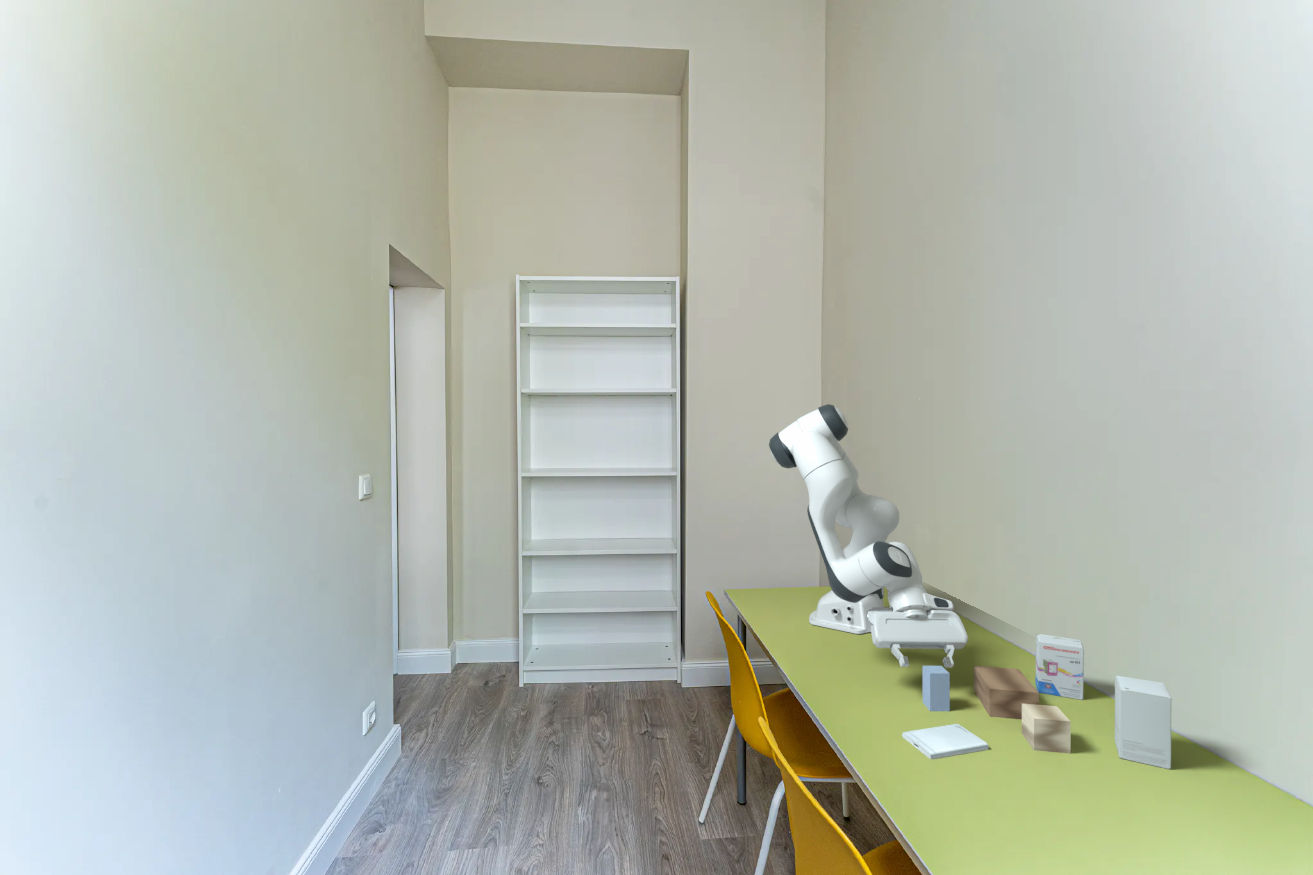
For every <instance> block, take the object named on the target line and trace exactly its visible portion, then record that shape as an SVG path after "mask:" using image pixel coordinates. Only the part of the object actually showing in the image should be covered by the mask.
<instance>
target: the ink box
mask: <svg viewBox="0 0 1313 875" xmlns="http://www.w3.org/2000/svg"><path fill="white" fill-rule="evenodd" d="M1084 663H1085V647H1084V646H1083V643H1082V641H1081V640H1080V639H1075V638H1068V637H1063V636H1056V635H1050V634H1049V635H1048V634H1043V633H1042V634H1041V633H1039V634H1036V635H1035V688H1036V690H1037V691H1038V692H1039V694H1046V695H1051V696H1058V697H1063V698H1069V699H1075V700H1080V701H1083V700H1084V680H1085V679H1084V678H1085V677H1084V675H1085V674H1084V672H1085V671H1084V670H1085V669H1084V667H1085V664H1084Z"/></svg>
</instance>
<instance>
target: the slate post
mask: <svg viewBox="0 0 1313 875" xmlns="http://www.w3.org/2000/svg"><path fill="white" fill-rule="evenodd" d="M950 674H951V673H950V672H949V671H948V670H947V669H946V668H945V667H944V666H942V665H922V703H923V704H924V706H925V707H926V708H927V710H928V711H930V712H950V710H951V706H950V705H951V704H950V702H951V701H950V700H951V699H950V698H951V696H950V691H951V690H950V686H951V684H950V683H951V681H950V679H951V678H950Z"/></svg>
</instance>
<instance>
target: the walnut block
mask: <svg viewBox="0 0 1313 875" xmlns="http://www.w3.org/2000/svg"><path fill="white" fill-rule="evenodd" d="M973 691H974V693H975V695H976V696H977V697H976V698H978V700H979V701H980V703H981V705H982V706H983V708H984V710H985V711H986V714H987V715H988V717H992V718H1003V719H1012V720H1013V719H1014V720H1021V721H1022V704H1035V705H1040V693H1039V692H1038V691H1037V688H1036V686H1035V687H1034V685H1033V684H1032V682H1031V681H1030V680H1029V679H1028V678H1027V677H1026V676H1025V674H1024V673H1023V672H1022V671H1021V669H1019V668H1011V667H996V666H987V665H986V666H984V665H973Z"/></svg>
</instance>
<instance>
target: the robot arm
mask: <svg viewBox="0 0 1313 875" xmlns="http://www.w3.org/2000/svg"><path fill="white" fill-rule="evenodd" d="M848 431H849V427H848V421H847V418H846V416H845V415H844V413H843V412H842V411H841V410H840V409H839V408H838V407H836V406H835V405H834V404H829V403H827V404H825V405H821V406H819V407H818V408H817V409H815V410H812V411H810V412H808V413H806V414H804V415H803V416H801V417H799V418H797V419H796V420H794V421H793V422H792V423H791V424H789V425H788V426H786V427H785V428H783V429H782V430H781V431H779V432H775V434H774V435H773V436H771V438H770V439H769V443H768V447H769V450H770V451H769V452H770V454H771V456H772V458H773V460H774V461H775V462H776V463H777V464H778V465H780V466H781V467H782V468H785V469H794V468H797V470H798V472H799V474H800V476H801V478H802V480H803V482H804V484H805V486H806V488H807V492H808V506H807V517H808V520H809V523H810V526H811V528H812V531H813V535H814V538H815V540H816V543H817V545H818V549H819V552H820V555H821V557H822V559H823V563H824V565H825V569H826V574H827V579H828V584H829V587H830V589H831V590H830V591H828V592H827V593H825V594H824V595H822V596H820V599H819V600H818V603H817V606H816V609H815V610H814V611H812V612H811V613H810V614H809V618H808V621H809V624H810V625H813V626H818V627H822V628H827V629H830V630H831V629H832V630H837V631H841V632H847V633H850V634H856V635H863V634H867V633H871V639H872V644H873V645H874V647H876V648H877V649H890V651H891V654H892V655H894V657H895V658H896V659H897V661H898V663H899V666H900V668H908V667H909V666H910V662H909V658H908V657H909V656H907V655H903V653H902V652H901V651H900V650H901V649H931V650H932V649H934V650H936V649H939V650H941V649H943V650H944V653H945V654H947V655H946V656H944V657H943V659H942V663H943V668H950V669H953V667H954V664H955V662H954V660H953V655H954V651H955V650H961V649H964V648H965V646H966V645H967V643H968V641H969V636H968V633H967V631H966V628H965V626H964V624H963V622H962V620H961V618H960V616H959V615H958V614H957V613H956V612H954V611H953V610H954V607H955V606H954V603H953V602H952V601H951V600H949V599H945V598H942V597H939V596H936V595H932V594H930V593H928V592H927V590H926V588H925V587H924V585H923V576H922V572H921V569H920V567H919V563H918V561H917V560H916V557H915V555H914V553H913V551H912V550H911V548H910V547H909V546H908V545H907V544H905V543H903V542H900V541H890V542H886V541H887V539H888V537H889V535H890V534H892V533H893V532H894V531H895V530H896V529H897V528H898V525H899V522H900V512H899V509H898V507H897V505H895V503H893V502H892V501H890V500H888V499H886V498H884V497H882V496H877V495H873V494H866V493H865V492H864V491H863V490H861V489H860V487H859V484H858V479H859V471H858V469H857V468H856V466H855V465H854V464H853V462H852V460H851V459H850V457H849V455H848V454H847V453H846V451H845V450H844V448H843V447H842V445H841V444H840V443H839V442H840V441H842V440H843V439H844V438H845V437H846V436H847V435H848ZM835 523H837V524H838V525H840V526H842V527H844V528H848V529H852V535H851V539H850V541H849V544H847V545H846V546H844V548H842V545H841V542H840V540H839V536H838V534H837V531H836V527H835V526H836V524H835ZM885 588H886V589H887V601H888V604H889V607H888V606H885V604H884V600H883V599H884V597H885Z"/></svg>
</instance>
